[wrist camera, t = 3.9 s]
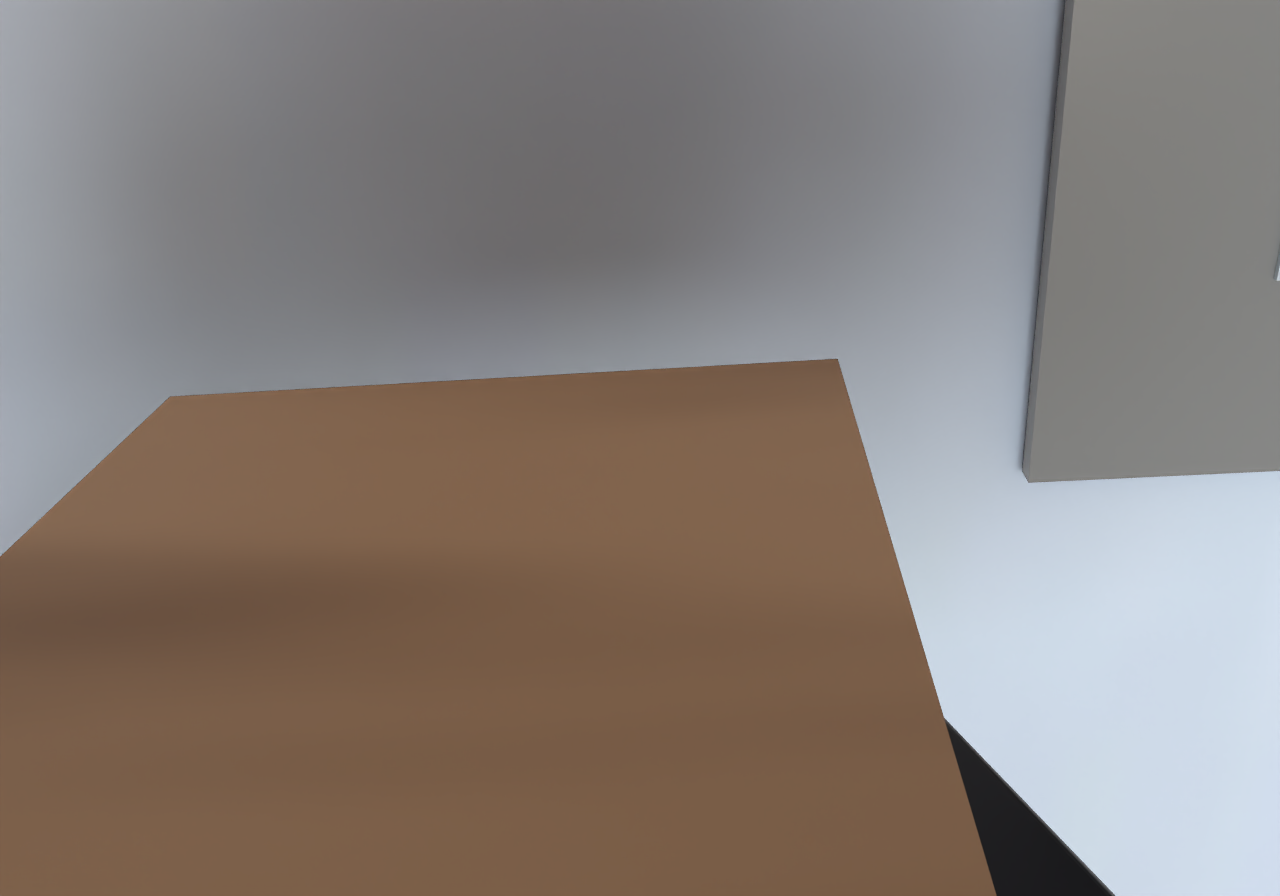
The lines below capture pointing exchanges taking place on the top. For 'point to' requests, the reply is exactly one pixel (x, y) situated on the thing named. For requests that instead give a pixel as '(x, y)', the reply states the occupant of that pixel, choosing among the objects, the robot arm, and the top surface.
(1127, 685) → the top surface
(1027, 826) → the robot arm
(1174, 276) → the build plate
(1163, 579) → the top surface
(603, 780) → the base block
